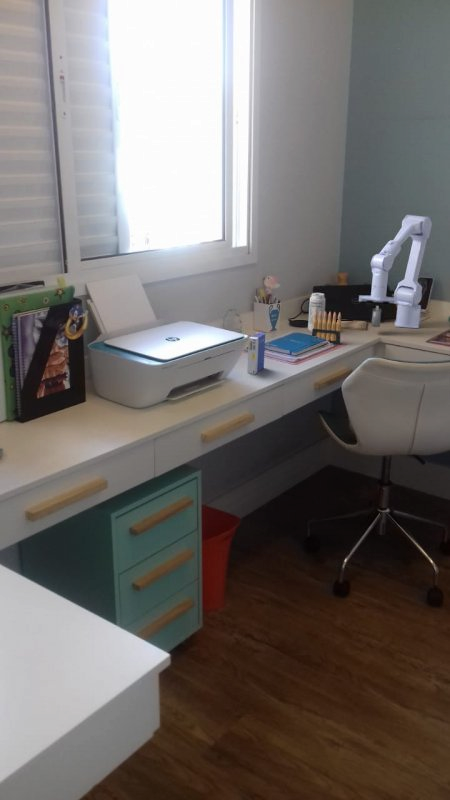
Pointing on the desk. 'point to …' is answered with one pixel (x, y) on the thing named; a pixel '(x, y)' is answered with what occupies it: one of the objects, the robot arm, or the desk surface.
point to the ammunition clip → (329, 331)
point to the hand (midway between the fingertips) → (376, 320)
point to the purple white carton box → (256, 353)
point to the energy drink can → (316, 308)
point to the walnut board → (353, 325)
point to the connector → (376, 317)
